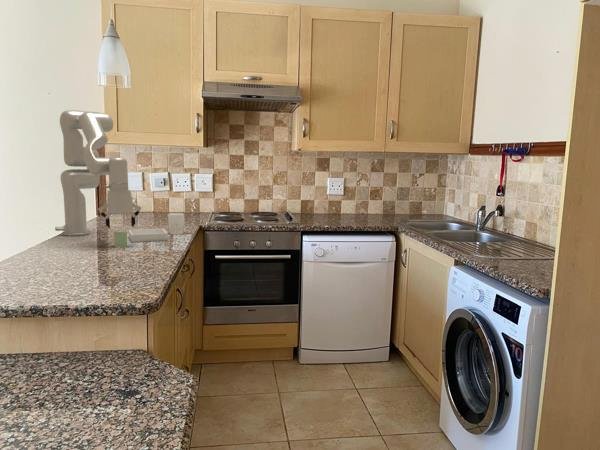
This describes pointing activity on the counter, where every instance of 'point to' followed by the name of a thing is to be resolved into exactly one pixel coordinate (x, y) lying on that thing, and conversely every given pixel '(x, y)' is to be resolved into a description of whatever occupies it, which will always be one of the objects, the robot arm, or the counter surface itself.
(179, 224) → the white cup
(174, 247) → the counter surface
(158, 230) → the white bin
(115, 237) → the green block
